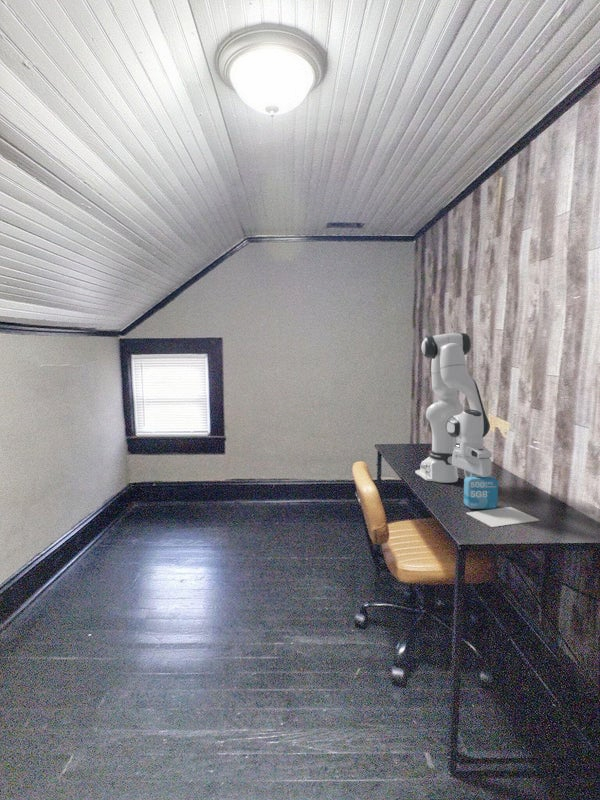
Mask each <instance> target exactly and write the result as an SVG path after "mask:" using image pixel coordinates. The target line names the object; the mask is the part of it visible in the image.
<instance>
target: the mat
mask: <svg viewBox="0 0 600 800" xmlns="http://www.w3.org/2000/svg"><path fill="white" fill-rule="evenodd" d="M465 514H466V515H468V516H469V517H471V518H474V519H475V520H477V521H479V522H480V523H483V524H485V525H486V526H488V527H491V528H492V527H493V528H498V527H499V526H500V527H505V525H506V526H511V525H512V526H513V525H518V524H526V523H533V522H540V519H539V518H537V517H534V516H532V515H531V514H528V513H525V512H523V511H521V510H519V509H516V508H514V507H511V506H506V507H499V508H494V509H482V510H476V511H469V512H465Z"/></svg>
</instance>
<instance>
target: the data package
mask: <svg viewBox="0 0 600 800" xmlns="http://www.w3.org/2000/svg"><path fill="white" fill-rule="evenodd" d="M498 490H499V482H498V480H497V479H496V478H493V477H492V476H489V477H481V476H475V477H464V480H463V504H464V506H465V507H468V509H472V510H480V509H481V510H491V509H497V507H498V503H499V502H498V500H499V499H498V498H499V491H498Z"/></svg>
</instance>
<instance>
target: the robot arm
mask: <svg viewBox="0 0 600 800" xmlns="http://www.w3.org/2000/svg"><path fill="white" fill-rule="evenodd" d="M471 348H472V341H471V337H470V336H469V334H468V333H464V332H459V333H454V332H453V333H451V332H450V333H449V332H448V333H443V334H437V335H436V334H435V335H428V336H425V337H424V338H423V339H422V342H421V352H422V355H423V356H424V357H426V359H431V365H430V373H431V389H432V391H433V392H434V394H435V397H436V400H437V402H434V403H432V404H430V405H429V406H428V407H427V409H426V411H425V416H426V420H427V421H428V422H429V425H430V428H431V435H432V438H431V442H432V443H431V449H428V452H429V455H428V457H426V458H425V459H424V460H422V461H421V463H420V469H416V470H415V474H416V475H418V476H420V478H421V479H423V480H425V481H428V482H436V483H443V484H444V483H445V484H447V483H448V484H449V483H450V484H451V483H456V482H458V481H459V478H460V476H459V475H458V469H461V470H463V474H464V478H466V477H477V476H478V477H491V475H492V469H493V468H492V459H491V458H492V457H493V456H492V455H493V452H491V451H490V450H489V449H487V447H485V446H484V442H483V441H484V440H483V438H484V437H486V435H488V433H489V432H490V429H491V424H490V421H489V419H488V417H487V413H486V411H485V408H484V405H483V401H482V397H481V394H480V391H479V387H478V383H476V381H475V380H474V379H473V378H472V377H471V375H470V373H469V371H468V368H467V367H468V365H467V360H466V355H467V354H468V353H470V351H471ZM458 392H460V393H462V394H463V395H464V396H465V397H466V398H467V403H468V406H469V409H465V408H464V406H463V404H462V403H461V401H460V398H459V394H458ZM457 438H460V441H459V445H458V444H457Z"/></svg>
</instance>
